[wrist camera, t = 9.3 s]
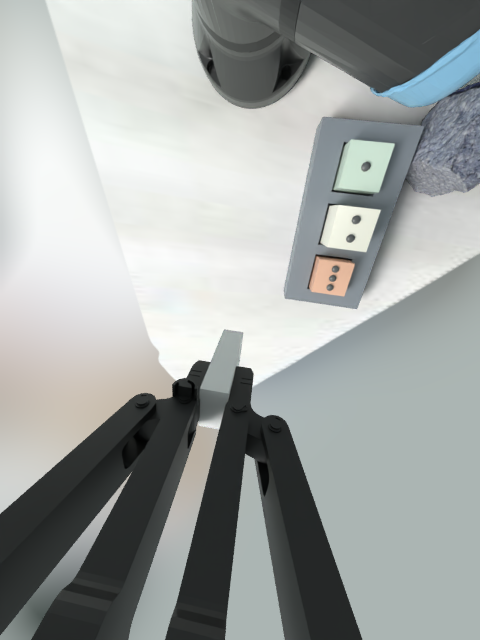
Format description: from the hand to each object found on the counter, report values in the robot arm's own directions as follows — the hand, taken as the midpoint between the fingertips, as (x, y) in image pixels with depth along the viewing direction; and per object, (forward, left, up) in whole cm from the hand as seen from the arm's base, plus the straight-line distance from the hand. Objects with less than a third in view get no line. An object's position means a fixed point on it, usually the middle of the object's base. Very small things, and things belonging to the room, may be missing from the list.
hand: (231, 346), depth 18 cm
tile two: (-9, +12, -22) cm, 27 cm away
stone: (-19, +22, -27) cm, 40 cm away
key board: (-9, +12, -27) cm, 30 cm away
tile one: (-16, +12, -25) cm, 32 cm away
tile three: (-2, +12, -25) cm, 27 cm away
